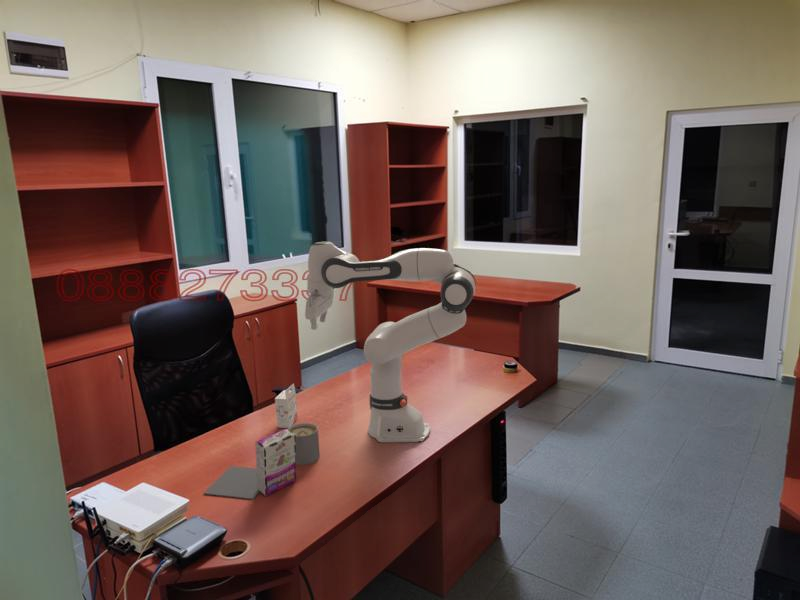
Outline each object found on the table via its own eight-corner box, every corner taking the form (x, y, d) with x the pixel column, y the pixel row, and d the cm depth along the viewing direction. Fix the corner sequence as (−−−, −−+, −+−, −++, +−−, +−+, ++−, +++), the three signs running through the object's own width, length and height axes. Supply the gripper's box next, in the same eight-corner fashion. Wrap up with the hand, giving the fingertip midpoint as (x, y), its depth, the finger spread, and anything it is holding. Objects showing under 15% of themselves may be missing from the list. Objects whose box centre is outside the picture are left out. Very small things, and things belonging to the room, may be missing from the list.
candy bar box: (286, 474, 175) (286, 427, 170) (296, 481, 172) (296, 433, 167) (255, 489, 167) (254, 440, 162) (265, 497, 164) (265, 447, 159)
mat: (277, 471, 178) (276, 470, 178) (253, 499, 163) (253, 498, 163) (231, 467, 181) (230, 466, 181) (203, 494, 166) (203, 493, 166)
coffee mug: (307, 467, 180) (305, 438, 178) (283, 460, 185) (280, 432, 182) (331, 449, 191) (329, 422, 189) (308, 443, 196) (306, 416, 194)
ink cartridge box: (285, 418, 217) (283, 382, 214) (297, 418, 216) (295, 382, 213) (276, 427, 209) (273, 390, 206) (289, 428, 208) (286, 391, 205)
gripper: (319, 295, 186) (317, 334, 190) (336, 282, 206) (335, 318, 209) (301, 293, 187) (299, 332, 191) (320, 280, 207) (318, 316, 210)
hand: (318, 325), depth 200 cm, fingers open, 8 cm apart
